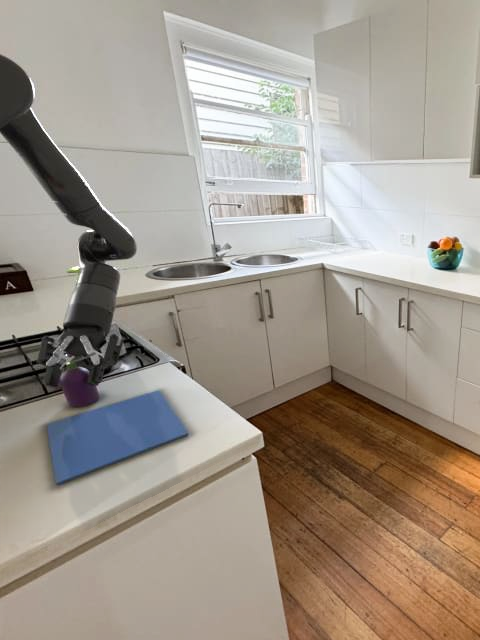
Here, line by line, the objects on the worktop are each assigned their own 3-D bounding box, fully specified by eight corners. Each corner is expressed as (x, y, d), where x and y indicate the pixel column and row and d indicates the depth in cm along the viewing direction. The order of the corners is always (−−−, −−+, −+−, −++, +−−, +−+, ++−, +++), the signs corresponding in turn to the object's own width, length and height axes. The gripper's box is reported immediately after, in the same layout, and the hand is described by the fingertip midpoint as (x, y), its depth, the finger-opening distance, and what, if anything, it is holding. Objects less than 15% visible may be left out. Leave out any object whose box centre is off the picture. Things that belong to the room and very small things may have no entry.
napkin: (47, 425, 70) (46, 423, 70) (159, 391, 82) (158, 390, 82) (57, 485, 57) (56, 483, 57) (188, 434, 69) (188, 432, 69)
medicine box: (127, 353, 98) (117, 322, 94) (111, 361, 94) (100, 328, 90) (102, 349, 100) (92, 318, 96) (85, 357, 96) (74, 324, 92)
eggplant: (62, 408, 75) (46, 369, 72) (79, 394, 80) (65, 357, 76) (90, 406, 76) (75, 368, 72) (105, 393, 80) (92, 356, 77)
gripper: (39, 302, 76) (14, 382, 70) (117, 301, 78) (99, 379, 72) (67, 318, 83) (46, 392, 77) (138, 316, 85) (123, 389, 79)
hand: (72, 385), depth 75 cm, fingers open, 7 cm apart
